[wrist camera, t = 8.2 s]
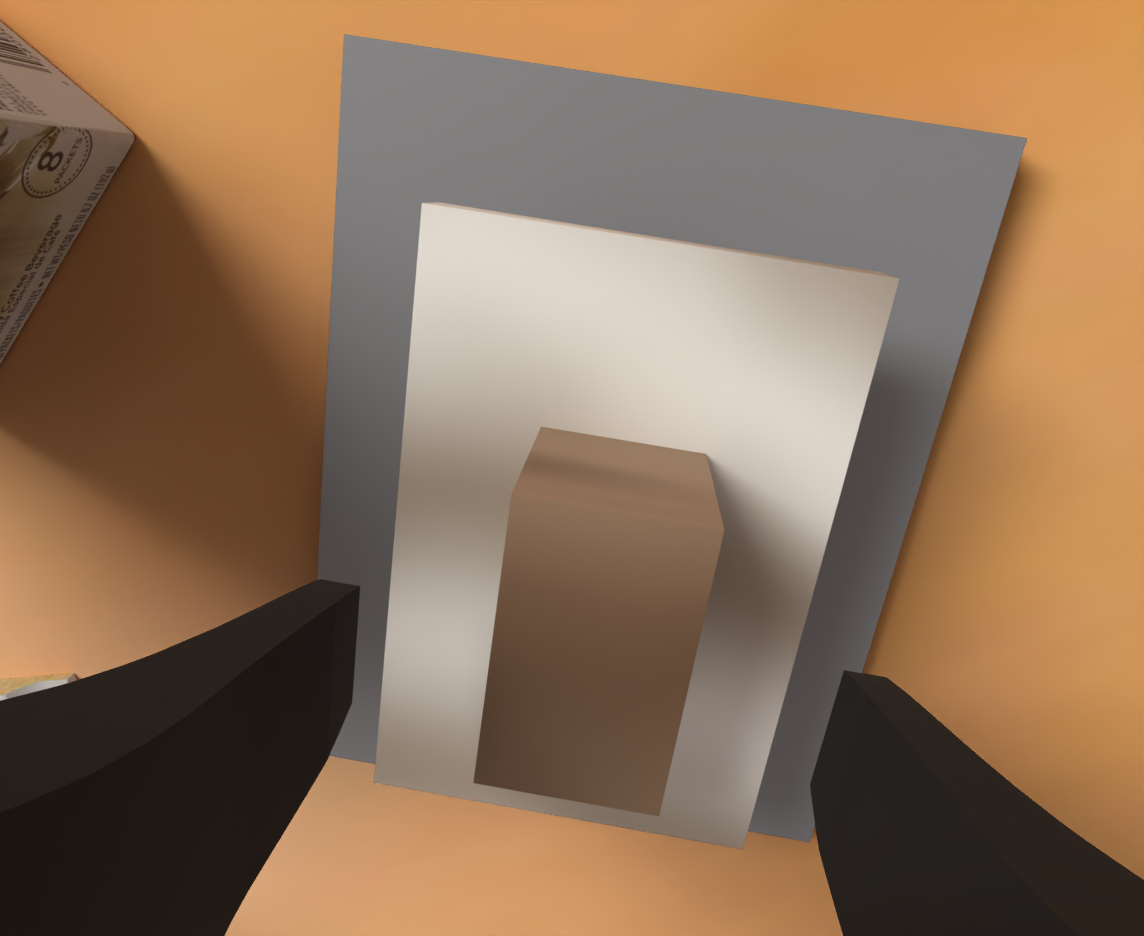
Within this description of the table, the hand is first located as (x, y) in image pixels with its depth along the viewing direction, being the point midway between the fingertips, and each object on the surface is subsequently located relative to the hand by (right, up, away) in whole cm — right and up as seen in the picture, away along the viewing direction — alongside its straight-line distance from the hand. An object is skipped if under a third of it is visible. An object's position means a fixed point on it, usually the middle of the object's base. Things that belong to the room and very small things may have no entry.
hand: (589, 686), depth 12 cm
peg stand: (+1, +3, +8) cm, 9 cm away
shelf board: (0, +2, +5) cm, 5 cm away
